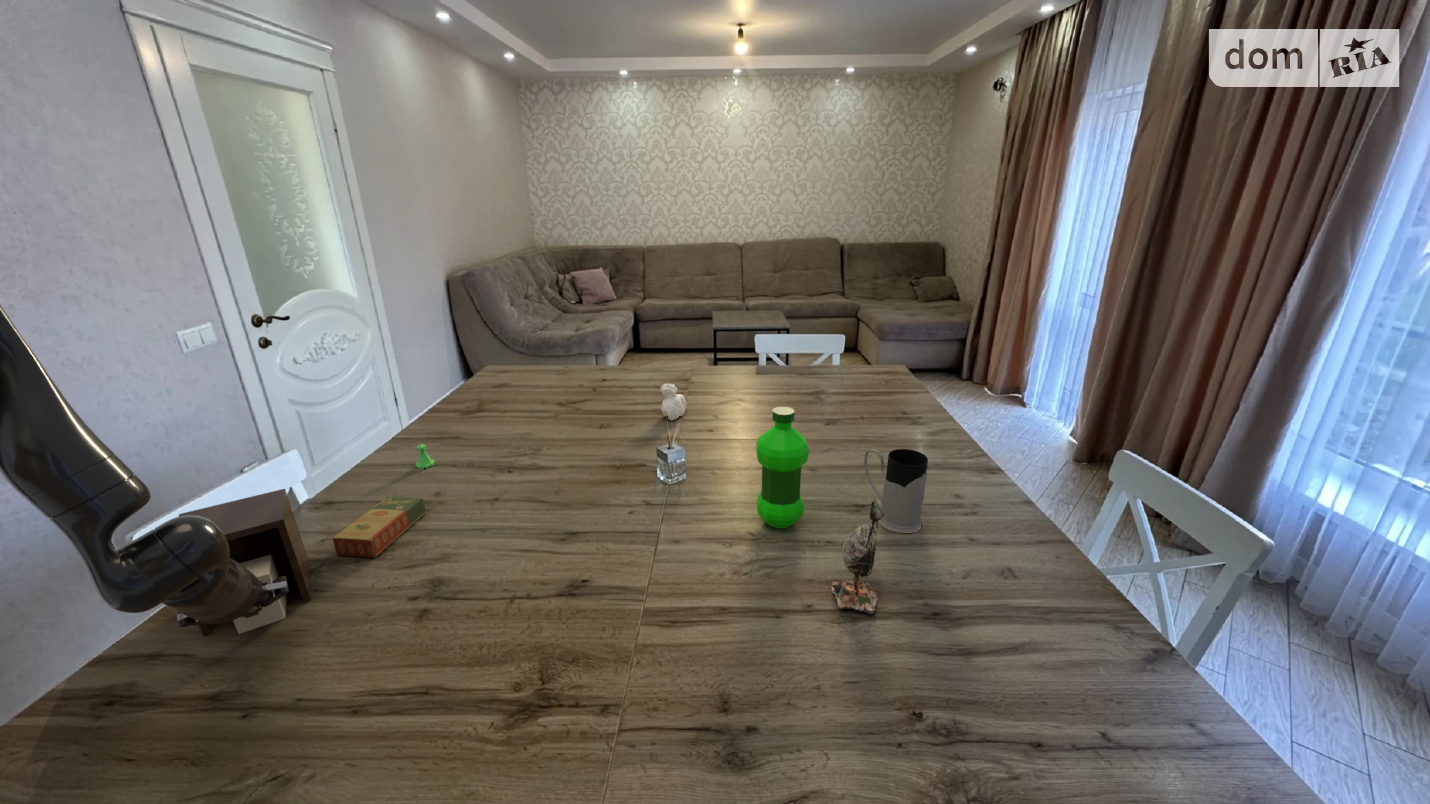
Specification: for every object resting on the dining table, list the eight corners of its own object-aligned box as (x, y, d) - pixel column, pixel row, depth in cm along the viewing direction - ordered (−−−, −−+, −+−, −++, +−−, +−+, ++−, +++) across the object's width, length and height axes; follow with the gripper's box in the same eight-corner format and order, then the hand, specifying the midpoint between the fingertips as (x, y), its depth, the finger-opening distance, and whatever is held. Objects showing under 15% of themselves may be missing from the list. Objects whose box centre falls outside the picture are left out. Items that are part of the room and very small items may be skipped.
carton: (336, 556, 105) (330, 537, 104) (391, 511, 120) (387, 493, 119) (376, 558, 104) (370, 539, 103) (427, 513, 119) (423, 495, 118)
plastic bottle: (799, 539, 109) (806, 423, 100) (748, 530, 112) (750, 417, 103) (808, 513, 118) (815, 404, 109) (760, 505, 121) (763, 399, 112)
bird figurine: (883, 578, 98) (895, 479, 91) (874, 621, 88) (887, 514, 81) (837, 567, 101) (845, 470, 94) (823, 608, 91) (832, 503, 84)
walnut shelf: (203, 636, 86) (165, 550, 81) (212, 593, 96) (179, 513, 90) (310, 600, 94) (283, 519, 88) (310, 564, 103) (285, 488, 97)
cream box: (238, 634, 87) (219, 588, 84) (242, 612, 91) (224, 567, 88) (285, 618, 90) (268, 573, 87) (286, 597, 95) (271, 554, 91)
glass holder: (906, 539, 109) (915, 471, 103) (848, 509, 119) (853, 447, 114) (930, 523, 114) (940, 458, 108) (872, 496, 124) (879, 435, 119)
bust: (681, 415, 175) (661, 386, 175) (698, 404, 171) (678, 374, 171) (663, 429, 165) (642, 398, 165) (680, 418, 161) (658, 386, 161)
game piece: (427, 469, 138) (423, 448, 136) (412, 468, 138) (407, 447, 136) (438, 462, 142) (434, 440, 140) (423, 460, 142) (418, 439, 140)
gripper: (272, 545, 77) (298, 571, 91) (143, 581, 70) (193, 603, 84) (282, 597, 75) (307, 615, 89) (150, 639, 68) (200, 652, 82)
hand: (251, 609), depth 86 cm, fingers closed
